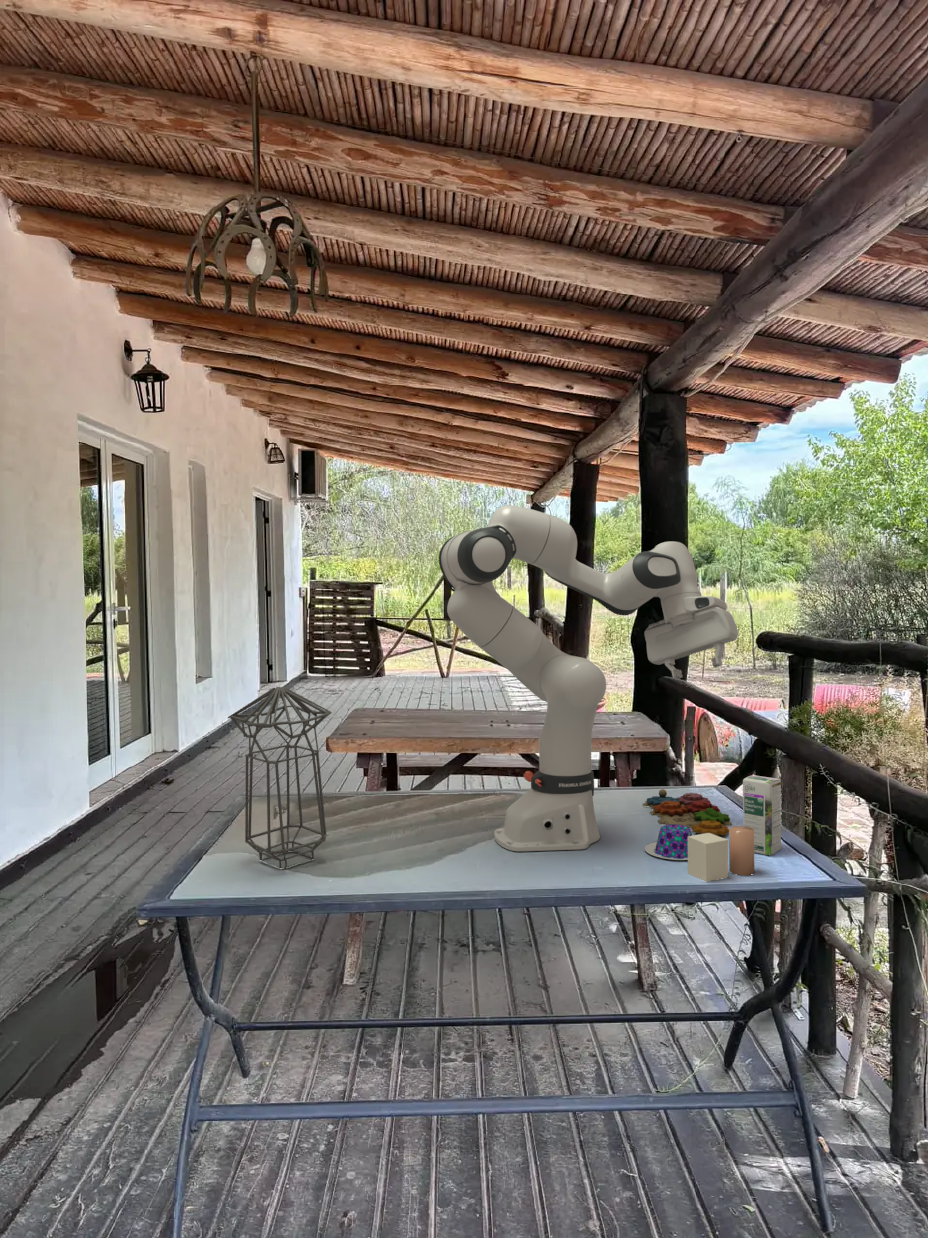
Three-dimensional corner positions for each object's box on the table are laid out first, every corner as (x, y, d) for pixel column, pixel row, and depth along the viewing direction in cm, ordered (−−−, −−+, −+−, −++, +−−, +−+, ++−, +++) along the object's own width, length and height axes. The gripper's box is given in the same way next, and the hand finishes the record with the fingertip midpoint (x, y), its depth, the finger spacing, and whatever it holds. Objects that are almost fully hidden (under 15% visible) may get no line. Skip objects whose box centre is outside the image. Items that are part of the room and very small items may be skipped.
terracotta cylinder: (737, 877, 150) (737, 833, 150) (724, 869, 155) (724, 827, 154) (759, 874, 151) (759, 831, 151) (745, 867, 156) (745, 825, 155)
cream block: (706, 882, 148) (705, 843, 148) (688, 874, 153) (687, 836, 152) (728, 878, 150) (727, 840, 150) (709, 869, 155) (709, 832, 154)
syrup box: (741, 850, 165) (741, 778, 165) (754, 843, 170) (754, 773, 169) (770, 856, 161) (769, 783, 161) (782, 849, 166) (781, 777, 165)
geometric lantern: (341, 860, 164) (335, 685, 162) (272, 883, 153) (264, 695, 151) (297, 843, 175) (291, 679, 173) (229, 863, 164) (222, 688, 162)
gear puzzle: (750, 840, 173) (749, 821, 173) (673, 842, 173) (673, 823, 173) (703, 802, 205) (703, 786, 204) (639, 804, 204) (639, 787, 204)
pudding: (649, 863, 160) (649, 836, 159) (640, 844, 172) (640, 819, 171) (712, 863, 159) (712, 836, 159) (699, 844, 171) (699, 819, 171)
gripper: (636, 624, 185) (647, 683, 181) (719, 594, 173) (735, 656, 168) (650, 629, 190) (662, 687, 185) (733, 600, 178) (748, 661, 173)
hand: (697, 672), depth 177 cm, fingers open, 8 cm apart
